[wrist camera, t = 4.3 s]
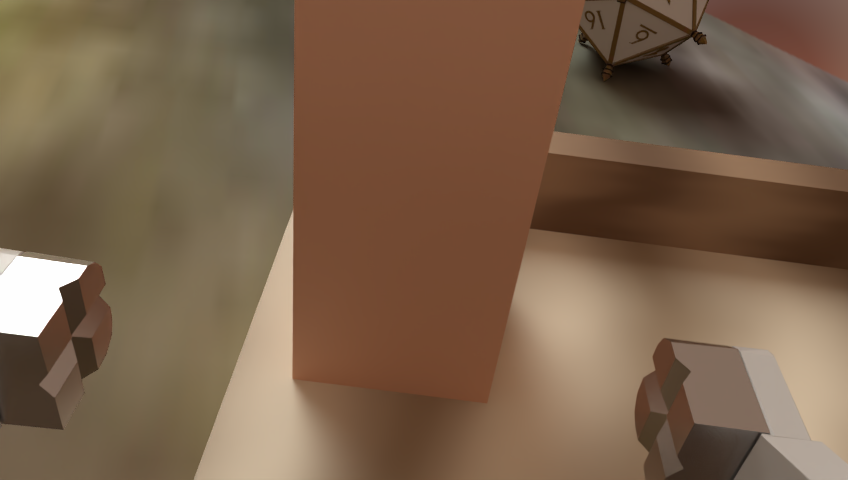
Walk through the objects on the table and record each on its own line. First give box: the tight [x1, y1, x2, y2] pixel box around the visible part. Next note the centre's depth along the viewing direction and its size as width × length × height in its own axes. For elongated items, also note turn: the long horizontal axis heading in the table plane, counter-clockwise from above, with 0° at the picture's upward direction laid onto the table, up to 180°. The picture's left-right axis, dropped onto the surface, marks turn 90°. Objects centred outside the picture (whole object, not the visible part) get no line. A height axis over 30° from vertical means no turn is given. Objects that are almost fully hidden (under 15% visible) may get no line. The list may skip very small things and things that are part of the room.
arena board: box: [194, 131, 848, 480], centre depth 20 cm, size 22×14×4 cm, turn 86°
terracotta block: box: [292, 0, 585, 403], centre depth 17 cm, size 5×5×12 cm
